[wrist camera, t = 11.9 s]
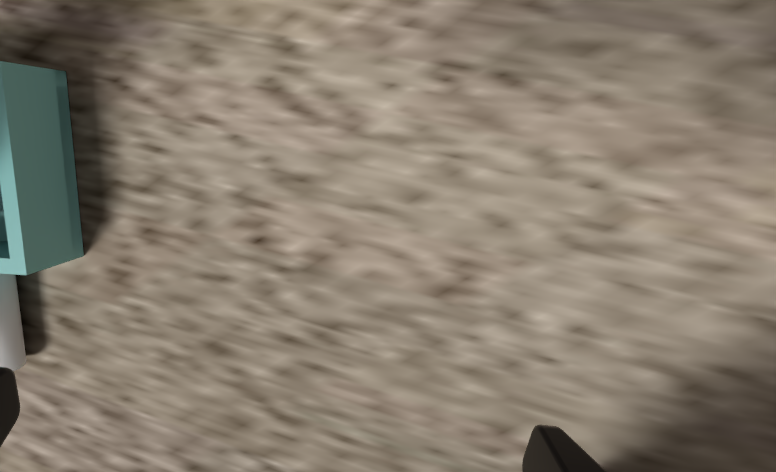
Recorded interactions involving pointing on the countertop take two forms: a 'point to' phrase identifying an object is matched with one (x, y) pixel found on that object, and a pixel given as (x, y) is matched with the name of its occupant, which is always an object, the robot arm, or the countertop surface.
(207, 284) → the countertop surface
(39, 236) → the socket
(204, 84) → the countertop surface
